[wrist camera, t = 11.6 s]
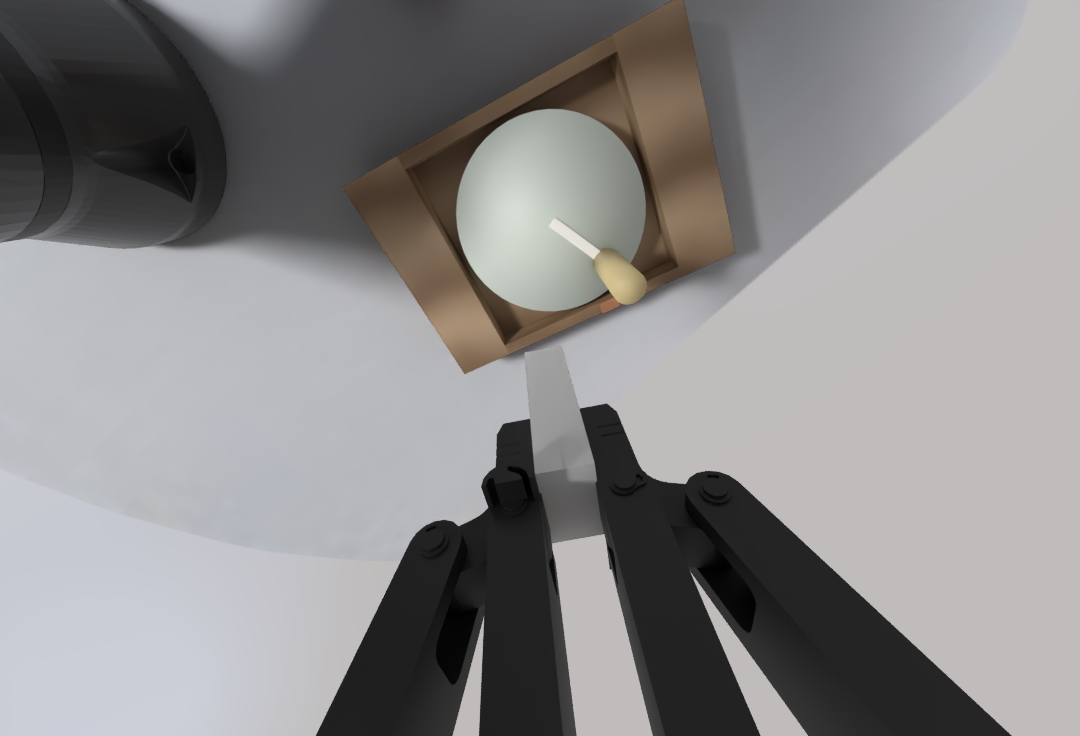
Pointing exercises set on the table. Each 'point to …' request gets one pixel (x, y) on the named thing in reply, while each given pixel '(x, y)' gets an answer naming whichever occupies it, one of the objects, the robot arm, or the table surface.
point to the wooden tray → (610, 98)
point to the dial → (553, 212)
